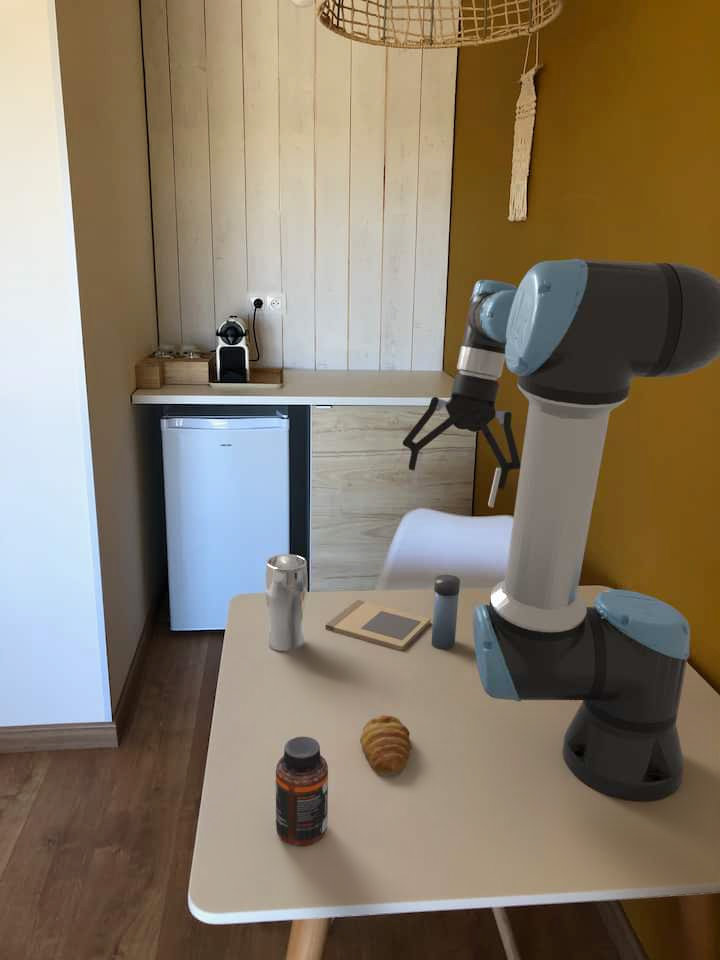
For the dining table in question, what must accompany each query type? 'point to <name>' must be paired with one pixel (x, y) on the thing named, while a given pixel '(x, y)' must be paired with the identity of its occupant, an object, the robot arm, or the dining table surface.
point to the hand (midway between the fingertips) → (451, 497)
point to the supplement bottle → (301, 793)
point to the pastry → (386, 745)
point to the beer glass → (286, 600)
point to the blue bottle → (445, 611)
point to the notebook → (378, 624)
